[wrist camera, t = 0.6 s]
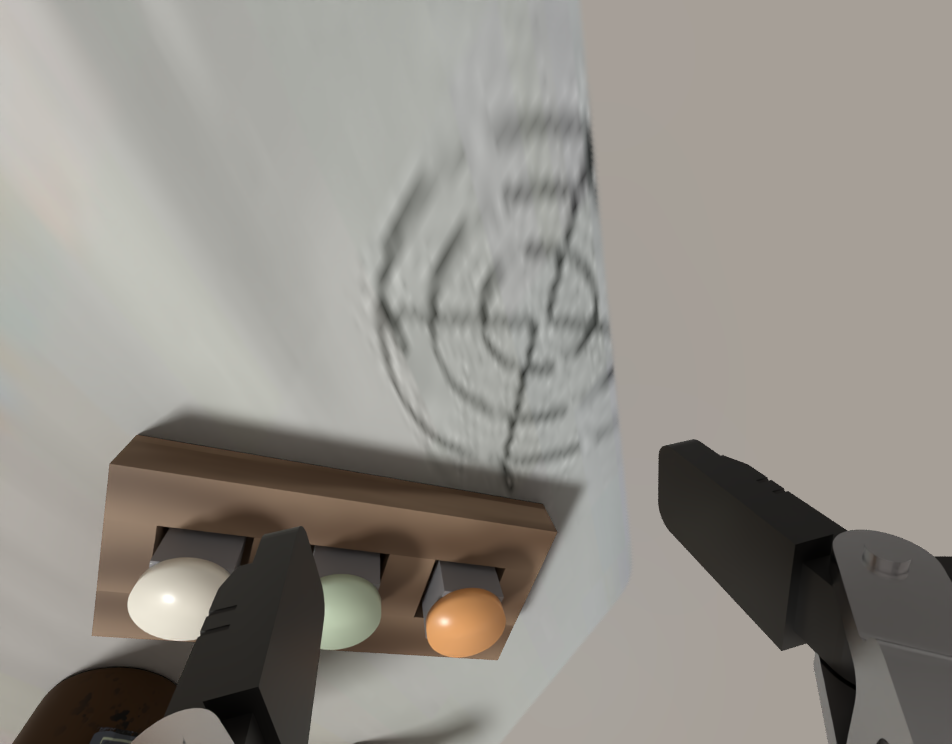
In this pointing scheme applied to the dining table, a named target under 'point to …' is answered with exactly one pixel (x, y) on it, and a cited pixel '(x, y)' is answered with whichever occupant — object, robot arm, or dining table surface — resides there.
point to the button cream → (183, 582)
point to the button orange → (463, 609)
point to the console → (314, 529)
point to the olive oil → (99, 708)
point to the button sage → (348, 595)
